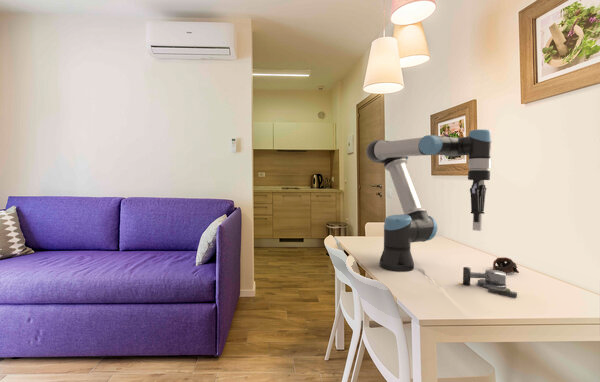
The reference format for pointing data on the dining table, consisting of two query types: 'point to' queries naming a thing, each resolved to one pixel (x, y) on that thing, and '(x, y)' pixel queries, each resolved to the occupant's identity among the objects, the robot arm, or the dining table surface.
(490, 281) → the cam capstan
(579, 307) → the dining table surface
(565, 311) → the dining table surface
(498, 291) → the stand board
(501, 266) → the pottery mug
